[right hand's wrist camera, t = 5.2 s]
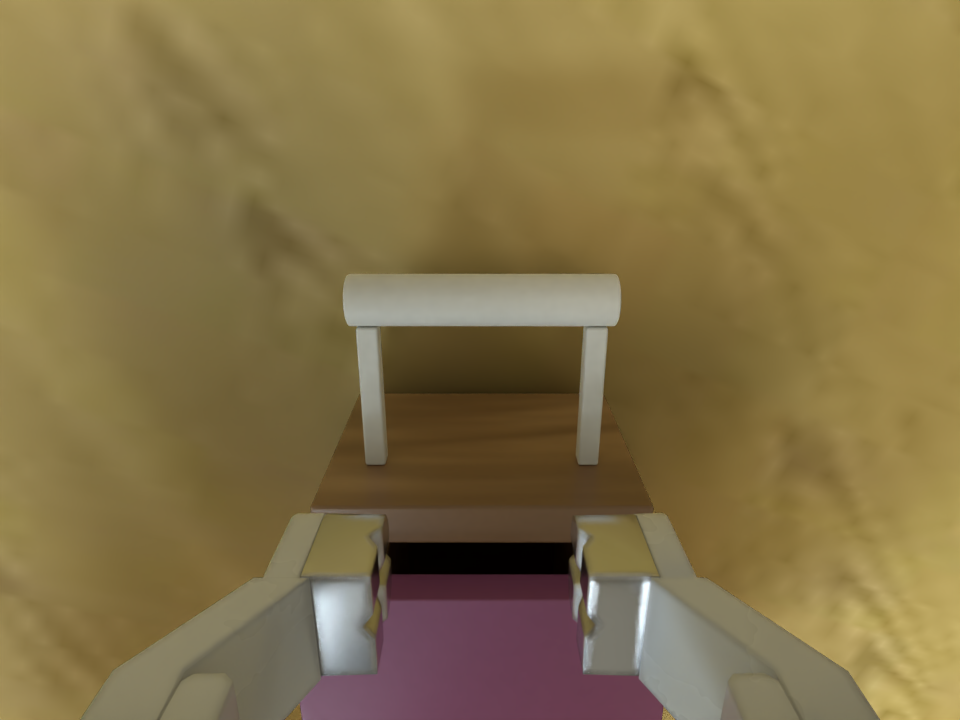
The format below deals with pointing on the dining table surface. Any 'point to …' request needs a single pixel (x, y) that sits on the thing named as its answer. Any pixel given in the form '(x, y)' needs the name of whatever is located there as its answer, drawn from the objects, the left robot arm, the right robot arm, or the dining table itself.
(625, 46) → the dining table surface
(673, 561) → the right robot arm
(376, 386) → the drawer
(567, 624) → the magenta elongated box
